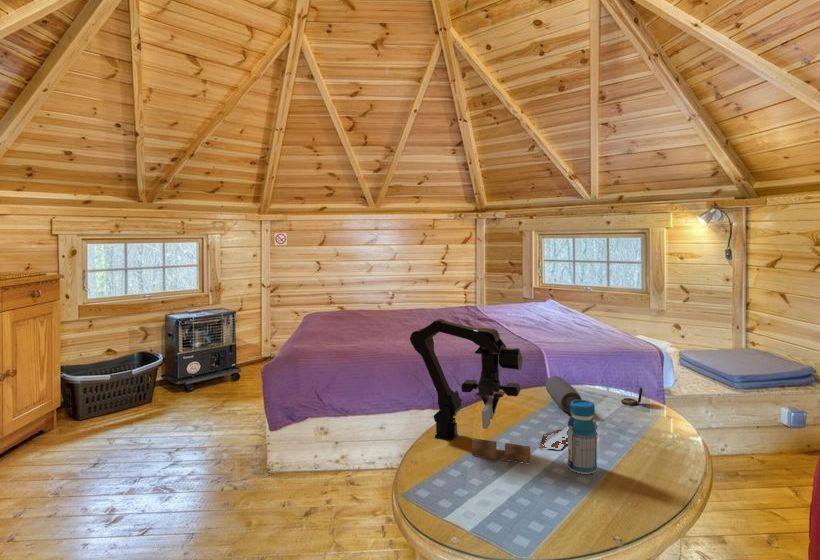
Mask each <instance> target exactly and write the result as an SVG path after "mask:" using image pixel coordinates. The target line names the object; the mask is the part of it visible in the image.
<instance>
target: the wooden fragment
mask: <svg viewBox="0 0 820 560" xmlns="http://www.w3.org/2000/svg"><path fill="white" fill-rule="evenodd" d="M561 430H562V429H557V430H553V431H550V432H547V433H544V434H543V435H542V436H541V440H540V444H539V447H538V449H539V448H547V447H545V445H544V443H545V442H546V441H545V440H547V439H546V438H547V436H548V435H551V434H552V433H554V434H555V433H558V432H559V431H561ZM544 435H547V436H544ZM562 438H565V437H562ZM566 442H568V438H566V440H562V443H561V442H559V441H556V442H555V443H553V444H552V445H551V447H555V448H558V445H559V443H561V444H566ZM542 444H543V445H544V446H543V445H542Z"/></svg>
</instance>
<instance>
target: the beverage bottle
mask: <svg viewBox="0 0 820 560" xmlns="http://www.w3.org/2000/svg"><path fill="white" fill-rule="evenodd" d="M595 407H596V406H595V403H593V401H590V400H587V399H582V400H573V401H571V404H570V412H571V413H570V414H571V416H570V417H569V419H568V421H567V426H568V427H567V428H569V429H568V431H567V435H568V445H567V451H568V453H567V467H568V469H569V470H570V471H572V472H574V473H576V472H577V473H576V474H580V473H581V474H582V475H591V473H592V474H594V473H595V472H596V471H597V469H598V464H597V461H598V459H597V453H598V452H597V450H598V449H597V448H598V447H597V446H598V445H597V444H598V442H597V441H598V438H599V437H598V432H597V429H598V425H597V424H598V423H597V422H596V419H595V418H594V416H595V410H596V409H595Z"/></svg>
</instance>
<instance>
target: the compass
mask: <svg viewBox="0 0 820 560" xmlns="http://www.w3.org/2000/svg"><path fill="white" fill-rule="evenodd" d="M642 395H643V387H642V386H641V387H640V386H639V392H638V399H637V400H636V399H635V398H630V397H625V398H623V399H621V400H620V402H621V404H623V405H626V406H637V405H638V404H639V403H641V401H642Z"/></svg>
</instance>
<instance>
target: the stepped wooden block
mask: <svg viewBox="0 0 820 560" xmlns="http://www.w3.org/2000/svg"><path fill="white" fill-rule="evenodd" d="M471 441H472V442H471V443H472V446H471V447H472V448H471V449H472V453H471V455H472V456H475V457H480V458H488V459H493V458H495V460H499V459H503V460H502V461H506V460H510V461H509V462H512V461H517V462H516V463H518V462H523V463H522V464H524V463H530V464H531V446H530V445H522V444H516V443H509V442H508V443H507V442H505V444H504V449H497V441H495V440H487V439H481V438H472V440H471Z"/></svg>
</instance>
